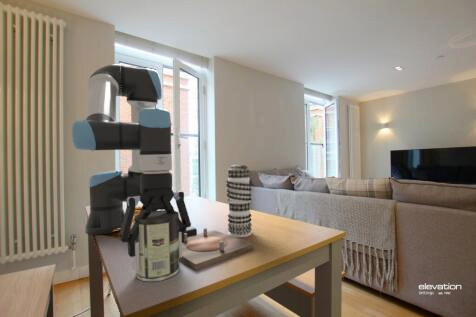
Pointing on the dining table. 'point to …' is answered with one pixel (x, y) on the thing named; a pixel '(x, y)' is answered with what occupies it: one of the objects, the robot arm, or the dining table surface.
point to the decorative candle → (239, 201)
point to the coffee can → (158, 246)
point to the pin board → (211, 248)
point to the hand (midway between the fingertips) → (158, 262)
